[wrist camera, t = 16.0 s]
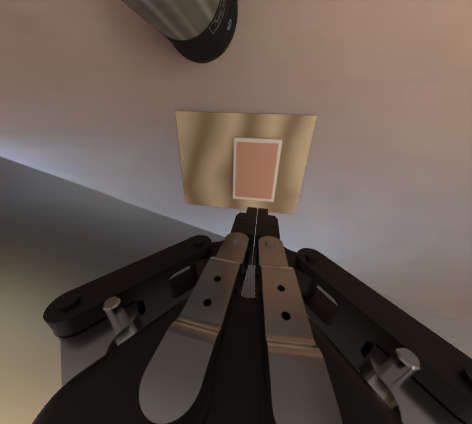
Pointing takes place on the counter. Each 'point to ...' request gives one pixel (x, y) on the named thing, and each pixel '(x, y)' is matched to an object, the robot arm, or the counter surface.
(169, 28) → the milk frother
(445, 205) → the counter surface
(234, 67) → the counter surface
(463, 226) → the counter surface
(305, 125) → the mat
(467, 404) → the robot arm
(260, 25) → the counter surface
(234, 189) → the card box
